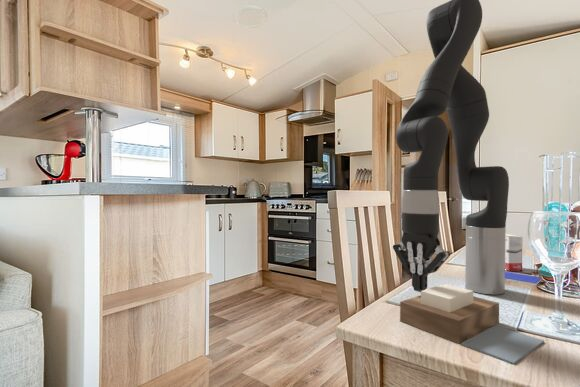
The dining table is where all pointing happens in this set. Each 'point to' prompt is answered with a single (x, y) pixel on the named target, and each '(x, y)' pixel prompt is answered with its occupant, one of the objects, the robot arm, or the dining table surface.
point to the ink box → (513, 252)
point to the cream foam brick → (447, 297)
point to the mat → (503, 344)
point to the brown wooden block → (451, 318)
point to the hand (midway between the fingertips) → (419, 290)
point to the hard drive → (522, 278)
